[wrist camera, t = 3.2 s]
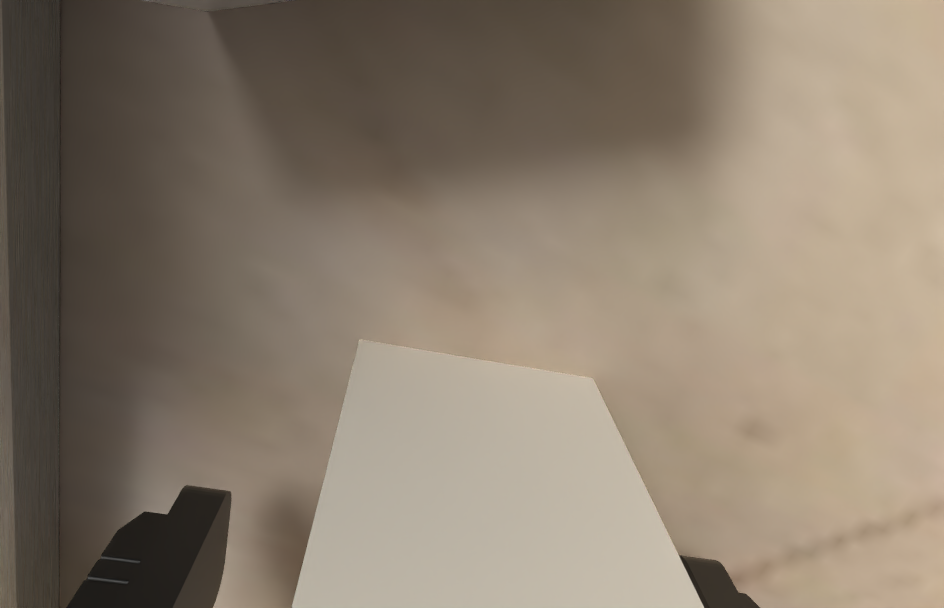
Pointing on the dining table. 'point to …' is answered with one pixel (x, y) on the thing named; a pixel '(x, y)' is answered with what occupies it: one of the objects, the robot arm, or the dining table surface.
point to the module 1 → (214, 3)
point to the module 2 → (482, 494)
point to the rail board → (29, 302)
